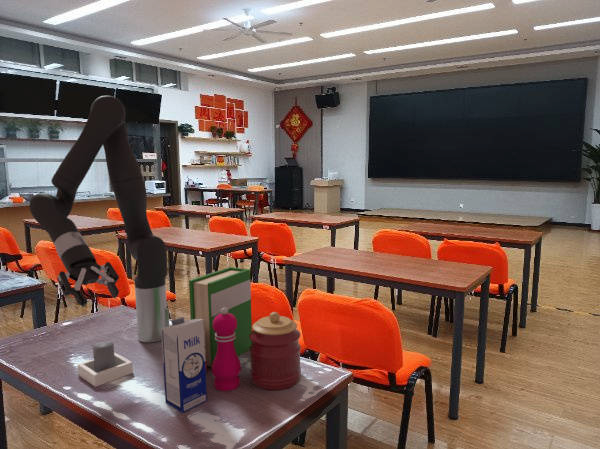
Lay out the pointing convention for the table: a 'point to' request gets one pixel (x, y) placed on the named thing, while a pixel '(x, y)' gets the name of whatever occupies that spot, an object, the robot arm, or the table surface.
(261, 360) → the canister
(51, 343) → the table surface
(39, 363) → the table surface
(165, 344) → the milk carton
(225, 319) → the pepper mill
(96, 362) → the peg
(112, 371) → the socket
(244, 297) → the hardback book
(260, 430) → the table surface
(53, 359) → the table surface
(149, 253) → the robot arm
